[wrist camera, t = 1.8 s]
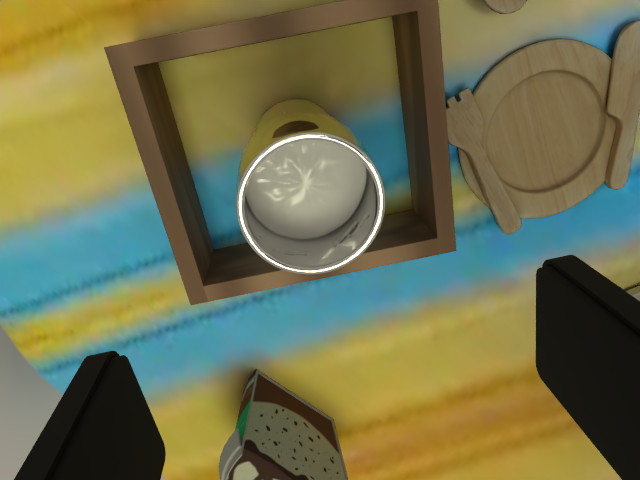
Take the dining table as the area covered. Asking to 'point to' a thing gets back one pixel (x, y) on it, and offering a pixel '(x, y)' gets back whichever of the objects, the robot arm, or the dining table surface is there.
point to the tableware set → (548, 124)
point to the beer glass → (307, 190)
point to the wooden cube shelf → (358, 6)
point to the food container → (280, 438)
